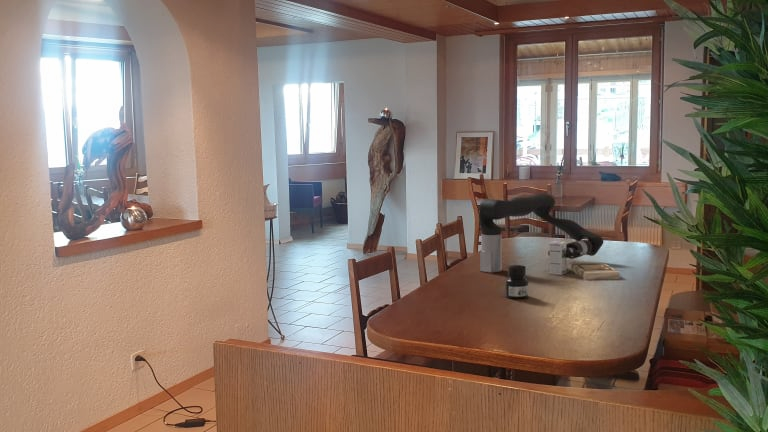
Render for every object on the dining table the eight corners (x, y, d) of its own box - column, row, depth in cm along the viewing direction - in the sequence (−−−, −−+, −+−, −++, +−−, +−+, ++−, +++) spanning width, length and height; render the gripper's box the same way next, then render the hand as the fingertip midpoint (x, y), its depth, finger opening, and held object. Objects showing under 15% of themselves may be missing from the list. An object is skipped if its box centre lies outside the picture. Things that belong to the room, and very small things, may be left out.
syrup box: (561, 275, 312) (561, 243, 311) (548, 274, 316) (549, 242, 314) (566, 273, 317) (566, 241, 315) (554, 271, 320) (554, 240, 319)
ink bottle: (510, 300, 270) (510, 269, 268) (500, 295, 278) (500, 265, 277) (533, 298, 273) (533, 267, 271) (522, 293, 281) (522, 263, 279)
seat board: (619, 278, 303) (619, 271, 303) (584, 279, 303) (584, 272, 302) (602, 268, 325) (603, 261, 324) (570, 269, 325) (570, 262, 324)
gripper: (589, 259, 322) (571, 264, 310) (562, 255, 332) (543, 260, 320) (590, 243, 321) (571, 247, 309) (562, 240, 331) (543, 244, 319)
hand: (557, 254), depth 315 cm, fingers open, 8 cm apart
